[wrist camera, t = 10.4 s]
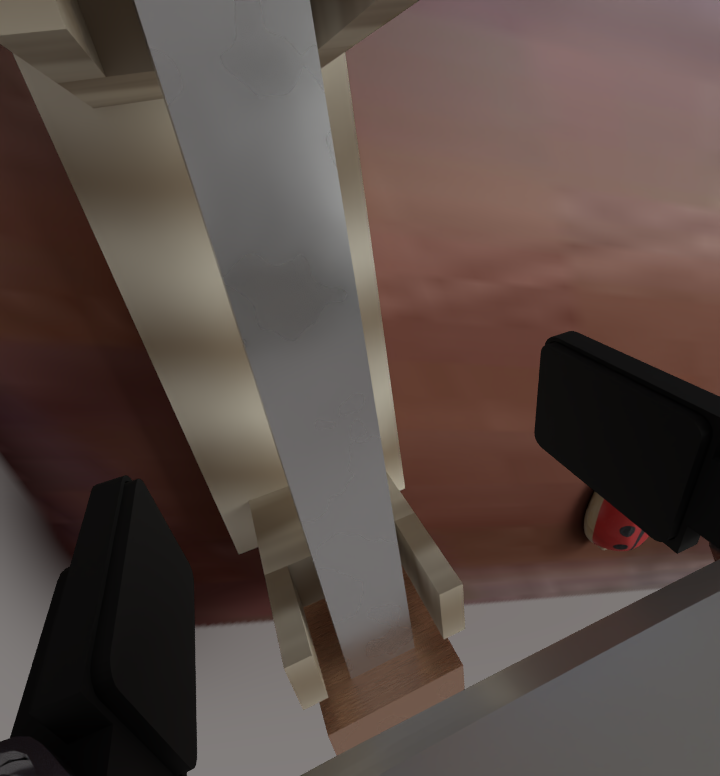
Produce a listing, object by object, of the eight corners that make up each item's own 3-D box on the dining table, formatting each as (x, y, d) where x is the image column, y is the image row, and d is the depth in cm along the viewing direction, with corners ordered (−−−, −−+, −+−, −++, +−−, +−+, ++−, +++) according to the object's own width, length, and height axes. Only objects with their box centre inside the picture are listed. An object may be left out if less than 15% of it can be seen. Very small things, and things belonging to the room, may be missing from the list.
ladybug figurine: (661, 440, 36) (704, 465, 33) (618, 530, 40) (652, 559, 37) (604, 448, 34) (645, 475, 31) (564, 542, 38) (596, 574, 35)
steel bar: (-119, -463, 7) (-875, -2069, 2) (246, -415, 8) (347, -1277, 3) (306, 637, 23) (341, 767, 18) (406, 591, 24) (465, 700, 19)
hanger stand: (-9, -15, 12) (-399, -392, 4) (320, -39, 15) (504, -311, 6) (236, 538, 24) (266, 733, 16) (396, 476, 27) (495, 617, 18)
